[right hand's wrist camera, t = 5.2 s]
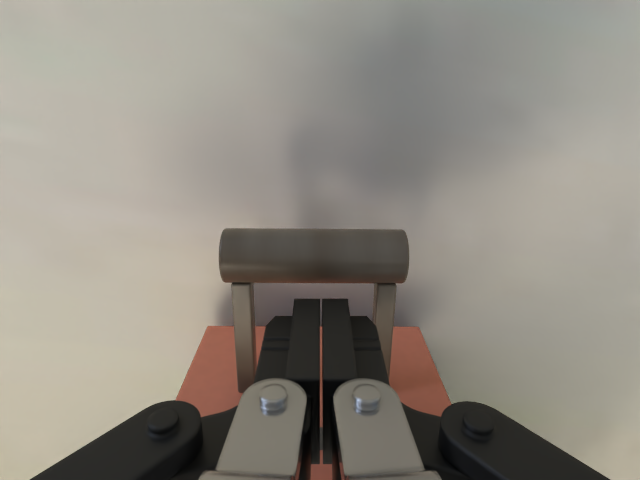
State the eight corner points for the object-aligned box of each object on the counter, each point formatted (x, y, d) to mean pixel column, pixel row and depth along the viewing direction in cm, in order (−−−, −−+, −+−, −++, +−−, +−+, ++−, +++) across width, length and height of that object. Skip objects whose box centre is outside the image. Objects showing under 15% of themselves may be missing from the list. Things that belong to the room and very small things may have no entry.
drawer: (195, 195, 17) (102, 286, 9) (432, 197, 17) (523, 288, 9) (225, 531, 23) (182, 745, 15) (398, 530, 23) (437, 743, 15)
